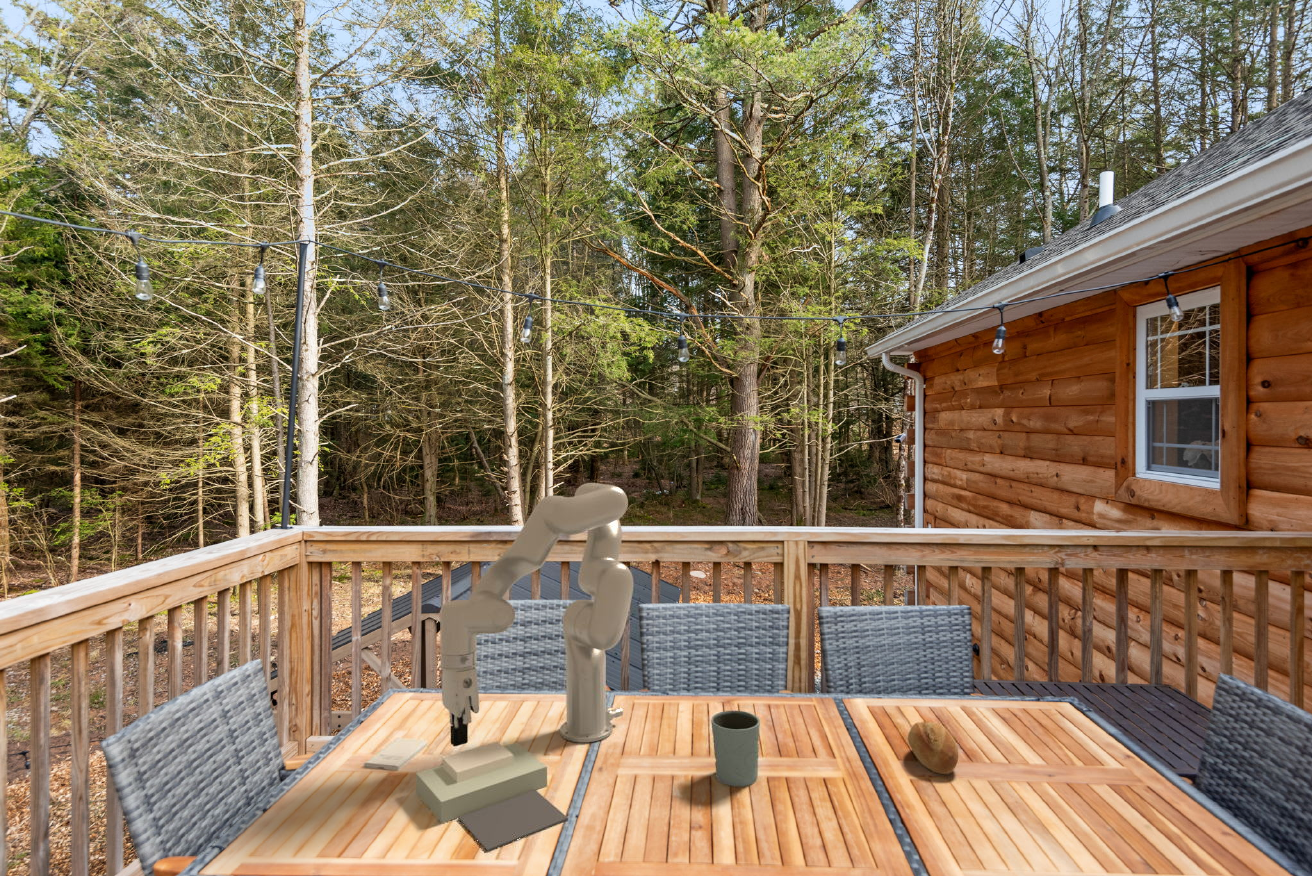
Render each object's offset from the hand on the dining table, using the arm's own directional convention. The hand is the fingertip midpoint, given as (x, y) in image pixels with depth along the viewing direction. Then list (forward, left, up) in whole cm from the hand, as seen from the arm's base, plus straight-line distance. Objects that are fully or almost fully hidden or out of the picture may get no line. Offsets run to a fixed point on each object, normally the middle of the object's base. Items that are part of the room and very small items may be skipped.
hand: (459, 743), depth 150 cm
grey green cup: (-44, +40, -5) cm, 60 cm away
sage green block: (0, +12, -5) cm, 13 cm away
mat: (0, +26, -5) cm, 26 cm away
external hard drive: (+9, -14, -6) cm, 18 cm away
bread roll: (-82, +62, -6) cm, 103 cm away
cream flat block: (0, +10, -1) cm, 10 cm away
